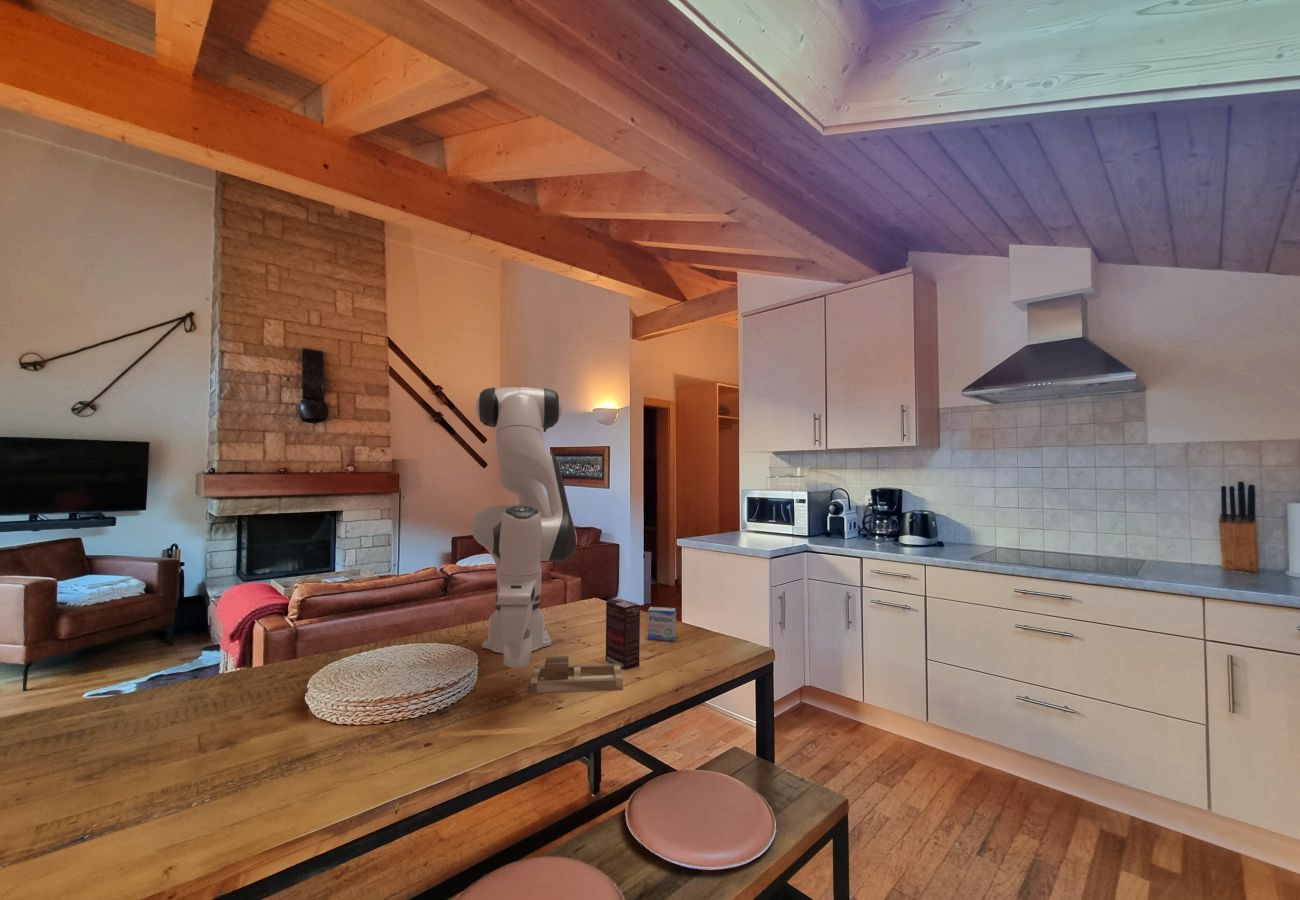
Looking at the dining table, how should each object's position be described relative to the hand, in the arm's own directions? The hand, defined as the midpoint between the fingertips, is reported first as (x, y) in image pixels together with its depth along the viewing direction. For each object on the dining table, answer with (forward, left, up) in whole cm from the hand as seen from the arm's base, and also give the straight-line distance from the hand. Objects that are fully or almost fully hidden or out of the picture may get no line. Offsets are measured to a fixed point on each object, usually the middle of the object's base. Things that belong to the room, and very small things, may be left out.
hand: (517, 651), depth 110 cm
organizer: (-8, +12, -11) cm, 18 cm away
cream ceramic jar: (0, 0, -2) cm, 2 cm away
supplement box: (-19, +23, -11) cm, 32 cm away
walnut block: (-8, +8, -10) cm, 15 cm away
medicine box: (-40, +36, -11) cm, 55 cm away
